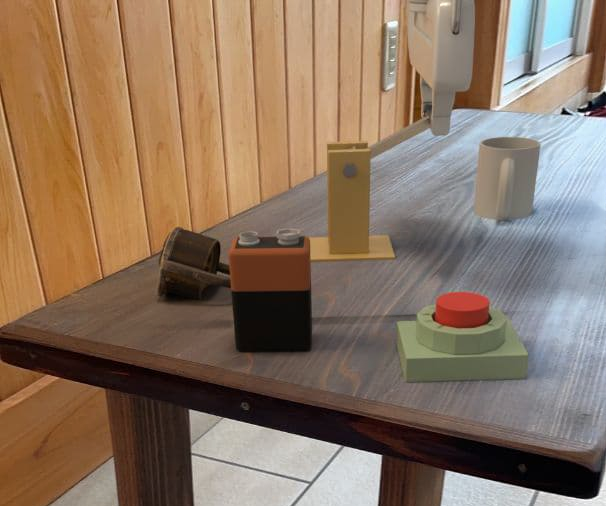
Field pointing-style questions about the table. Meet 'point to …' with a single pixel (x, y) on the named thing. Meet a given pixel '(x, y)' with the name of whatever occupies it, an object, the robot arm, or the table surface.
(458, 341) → the switch block
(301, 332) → the battery
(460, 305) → the button
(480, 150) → the cup
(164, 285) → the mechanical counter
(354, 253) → the bracket
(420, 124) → the lever
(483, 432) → the table surface
